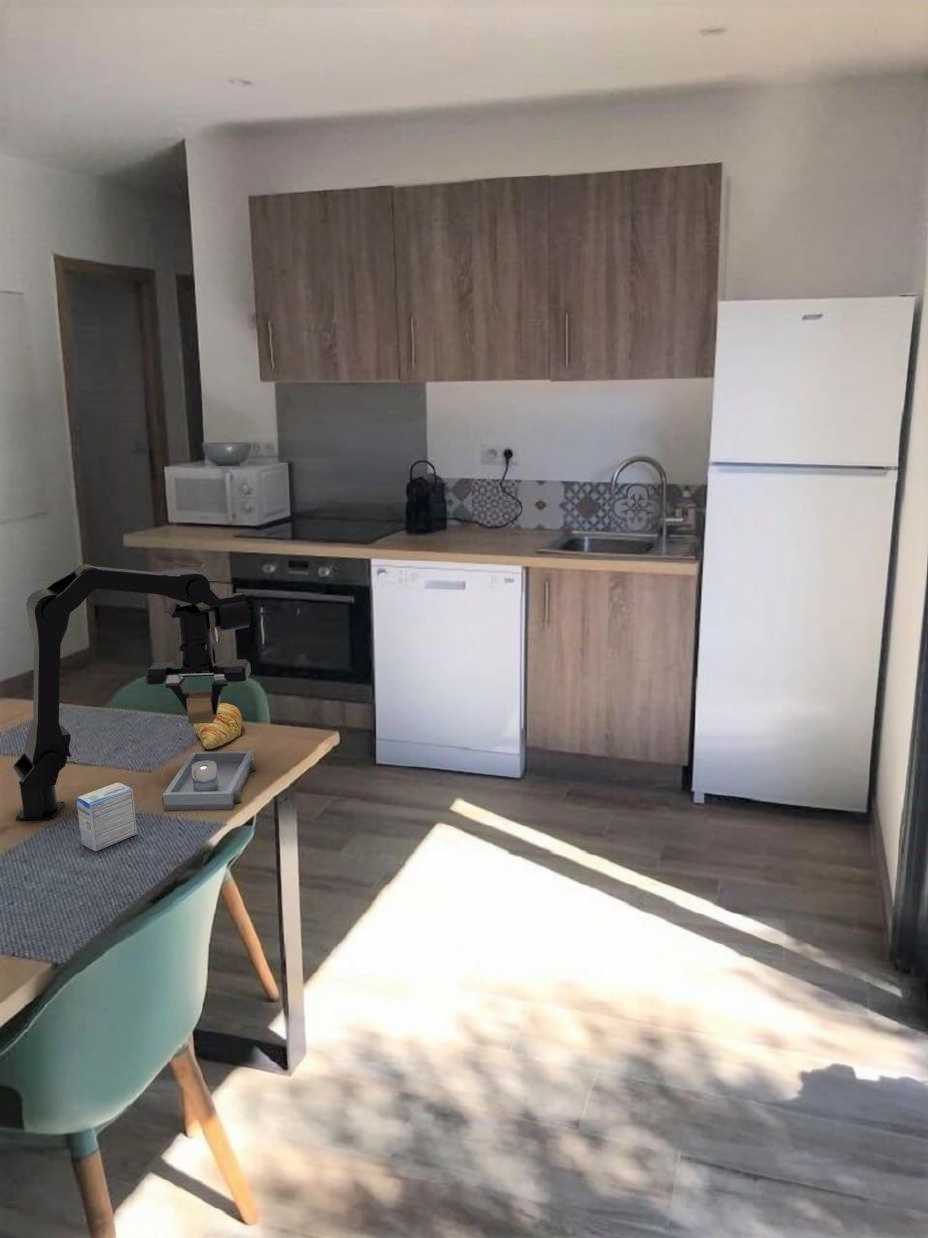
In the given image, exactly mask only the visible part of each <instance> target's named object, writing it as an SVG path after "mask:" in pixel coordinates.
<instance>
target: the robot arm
mask: <svg viewBox="0 0 928 1238" xmlns="http://www.w3.org/2000/svg"><path fill="white" fill-rule="evenodd" d="M95 590H101V591H102V590H103V591H114V592H115V591H116V592H127V593H137V594H138V593H139V594H150V595H151V594H152V595H159V596H163V597H167V598H170V599H173V600H176V601H179V602H184V603H187V604H184V605H180V604H179V603H177V602H175V601H174V602H172V604H171V606H170V607H168V609H167V610H166V611H165V612H164V613H165V615H167V616H169V617H170V618H171V619H176V618H177V623H178V632H179V633H178V634H179V635H178V636H179V643H180V644H179V645H178V646H179V652H180V655H181V656H180V657H181V664H182V665H181V666H174V663H173V661H159V662H158V661H155V662H153V663H152V665H151V666H150V667H148V669H147V670H146V671H145V682H146V685H163V684H164V683H165V682H166V684H165V685H164V686H165V688H166V689H170V690H171V691H172V692H173V693H174V695H175V696H176V697H177V698H178V701H179V702H180V703H181V705H182V707H183V709H184V710H185V712H186V714H187V715H188V711H187V701H186V699H187V697H188V696H189V695H190V691H189V687H188V686H189V685H188V684H189V683H188V682H189V681H188V679H189V677H190V678H191V677H193V678H194V677H195V678H197V677H213V678H214V680H213V682H212V683H211V691H212V703H213V712H214V715H216V714H217V711H218V707H219V703H221V702H220V701H221V698H222V694H223V691H224V690H225V689H224V688H225V687H227V686H229V684H230V683H238V682H240V683H241V682H246V681H247V680H248V678H249V676H250V674H251V672H252V671H251V669H252V668H251V663H250V661H249V660H247V658H246V659H228V660H227V662H226V663H225V665H214V664H217V663H218V662H219V661H220V660H219V659H220V658H219V657H220V656H219V655H220V654H219V653H220V650H219V645H218V644H215V643H214V642H213V637H212V634H211V627H212V628H213V629H216V631H217V632H219V633H222V632H228V631H229V632H230V631H234V630H239V629H244V628H249V627H250V625H251V621H252V619H251V618H252V616H251V615H252V614H251V611H250V609H249V606H248V604H247V602H246V600H245V594H243V593H241V592H235V593H232V594H229V595H222V596H218V595H216V594H215V592H214V591H212V589H211V584H210V581H209V579H208V578H207V577H206V576H205V575H204V574H202V573H200V572H198V571H195V570H192V569H190V568H177V569H168V570H163V571H145V570H134V569H126V568H125V569H123V568H114V567H104V566H94V565H92V564H91V565H90V564H87V563H85V564H84V563H83V564H81V565H79V566H78V567H76V568H75V569H74V570H72V571H71V572H70V573H68V574H66V575H64V576H63V577H61V578H60V579H57V580H56V581H54V582H52V583H51V584H50V585H49V586H47V587H46V588H41V589H37V590H35V591H33V592H32V593H31V594H30V595H29V596H28V598H27V600H26V602H25V603H26V604H25V605H26V606H25V607H26V613H27V617H28V618H27V619H28V624H29V627H30V628H29V629H30V631H31V635H32V638H33V643H34V644H33V645H34V646H33V647H34V649H33V651H34V653H33V654H34V655H33V701H32V703H33V708H32V709H33V712H32V713H33V715H32V716H33V717H32V722H31V724H30V726H29V729H28V731H27V734H26V740H25V744H24V750H23V753H22V754H21V756H20V757H19V758H18V759H17V761H15V763H14V764H13V765H12V769H13V771H14V772H15V773H16V775H17V777H18V778H19V779H20V781H18V784H19V785H18V786H19V793H20V799H21V800H20V801H21V805H22V807H21V808H22V810H21V811H20V812H19V813H18V814H17V815H15V817H14V818H15V820H16V821H39V820H40V821H41V820H44V821H45V820H46V821H47V820H53V819H54V818H55V816H57V815H58V813H59V812H60V811H61V810H62V809H63V808H64V806H65V805H66V802H65V801H58V799H57V792H56V791H57V790H56V785H57V782H58V777H59V773H60V771H61V770H63V768H65V767H66V765H67V760H68V758H71V757H72V755H71V753H70V743H71V738H72V735H71V733H70V732H69V731H68V730H67V729H66V727H64V726H63V725H60V698H61V695H60V692H61V691H60V688H61V687H60V684H61V646H62V643H63V640H64V637H65V635H66V632H67V629H68V625H69V621H70V615H71V613H72V612H73V611H74V610H76V609H77V608H79V607H80V606H81V604H82V603H83V602H84V601H85V600H86V599H87V598H88V597H89V596H90V594H91V593H93V592H94V591H95ZM199 604H204V605H201V606H198V605H199Z"/></svg>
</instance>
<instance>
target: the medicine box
mask: <svg viewBox="0 0 928 1238" xmlns="http://www.w3.org/2000/svg"><path fill="white" fill-rule="evenodd" d="M76 807H77V815H78V822H79V831H80V839H81V840H80V841H81V843H82V845H83V846H85V847H86V848H88V849H89V850H91V851H94V852H98V851H101V850H102V849H106V848H107V847H109V846H112V845H115V844H117V843H119V842H123V841H124V840H126V839H129V838H131V837H133V836H136V835H138V830H137V820H136V812H135V811H136V809H135V798H134V791H133V788H131V787H129V786H128V785H125V784H123V783H121V782H114V783H112V784H108V785H107V786H104V787H102V788H98V789H96V790H93V791H90V792H87V793H85V794H82V795H80V796H78V797H76Z"/></svg>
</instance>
